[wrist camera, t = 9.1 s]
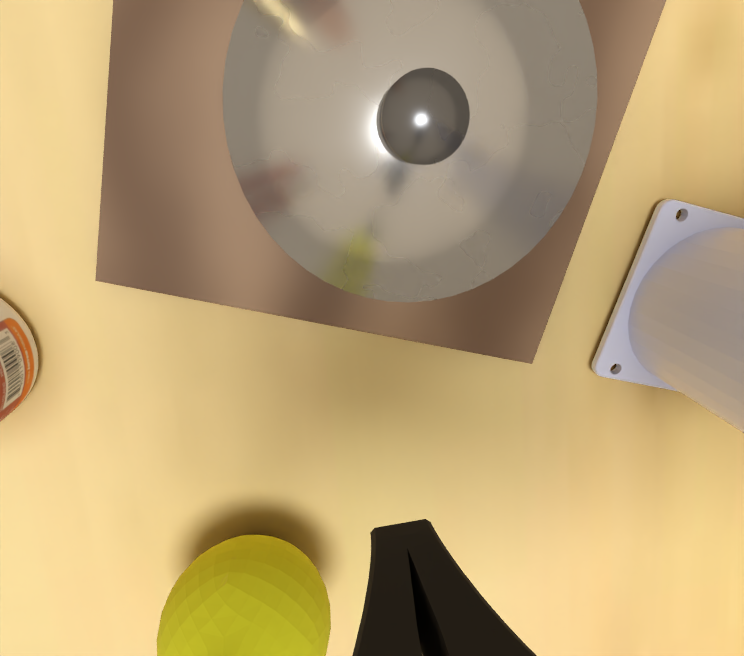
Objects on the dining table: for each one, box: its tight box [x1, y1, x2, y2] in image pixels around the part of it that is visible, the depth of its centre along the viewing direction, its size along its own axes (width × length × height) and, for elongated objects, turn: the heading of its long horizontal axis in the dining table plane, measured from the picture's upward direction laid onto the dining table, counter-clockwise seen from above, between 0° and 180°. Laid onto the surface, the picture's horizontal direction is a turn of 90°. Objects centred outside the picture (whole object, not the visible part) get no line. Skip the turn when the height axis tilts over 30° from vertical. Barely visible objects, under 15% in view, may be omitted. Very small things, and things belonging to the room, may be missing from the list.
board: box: [96, 0, 666, 364], centre depth 16 cm, size 18×22×2 cm
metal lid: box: [223, 0, 597, 302], centre depth 14 cm, size 18×12×5 cm, turn 37°
